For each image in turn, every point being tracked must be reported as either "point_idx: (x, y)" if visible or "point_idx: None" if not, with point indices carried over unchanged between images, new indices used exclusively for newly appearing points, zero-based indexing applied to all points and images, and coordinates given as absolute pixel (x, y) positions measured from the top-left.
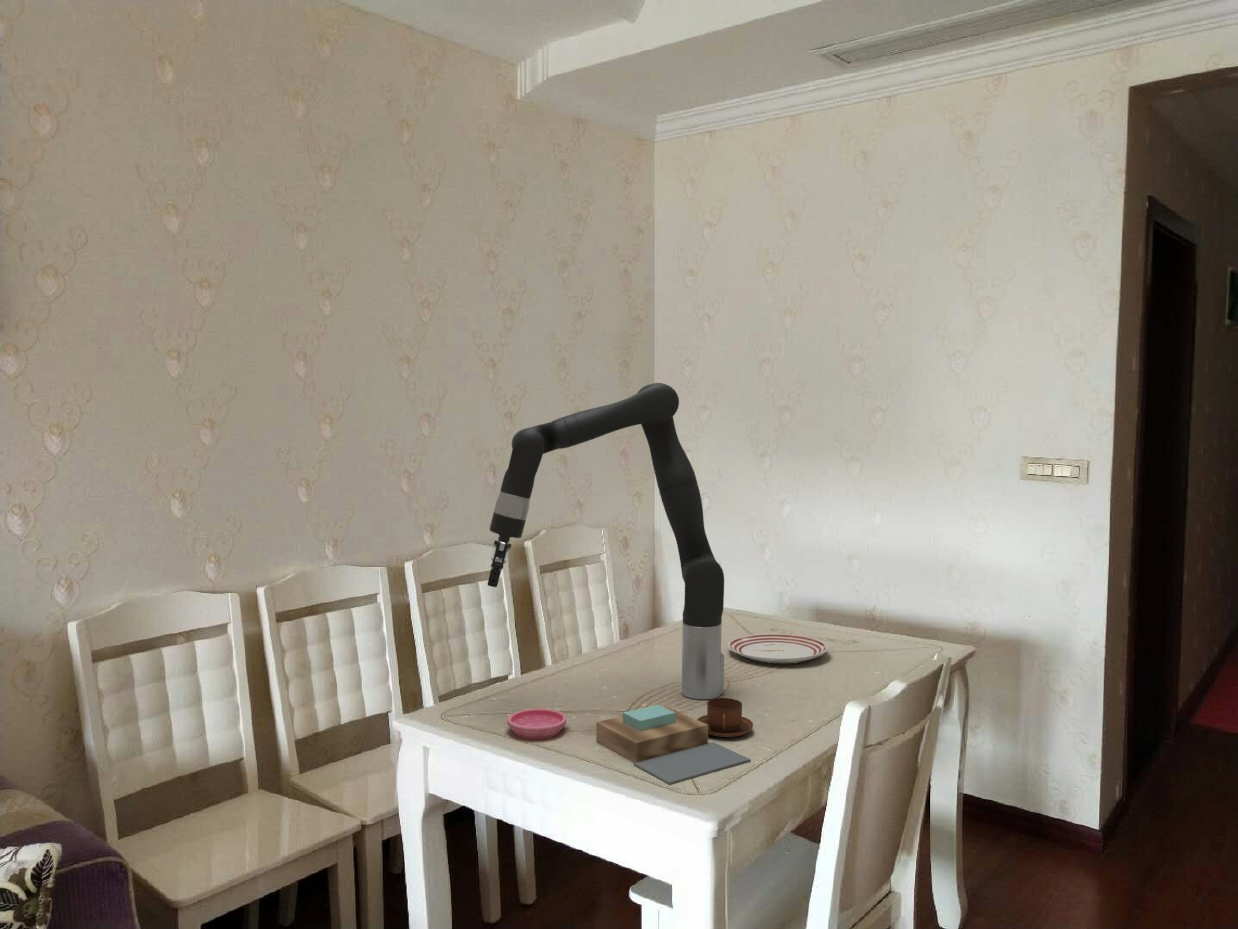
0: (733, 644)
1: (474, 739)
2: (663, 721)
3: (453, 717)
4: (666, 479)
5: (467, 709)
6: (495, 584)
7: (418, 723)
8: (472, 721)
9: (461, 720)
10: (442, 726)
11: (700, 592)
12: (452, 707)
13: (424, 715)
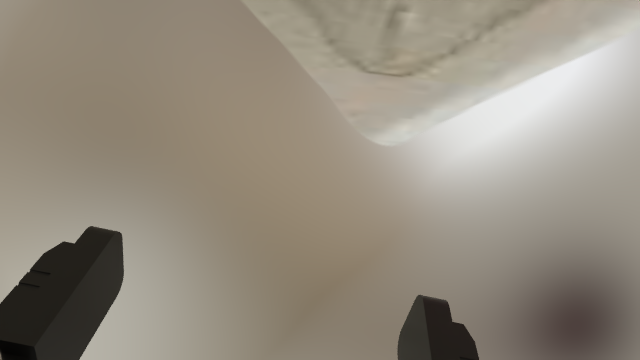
0: None
1: (603, 25)
2: None
3: (406, 49)
4: None
5: (353, 6)
6: (466, 330)
7: (416, 122)
8: (461, 8)
9: (439, 34)
10: (462, 81)
11: None
12: (324, 41)
13: (366, 106)
